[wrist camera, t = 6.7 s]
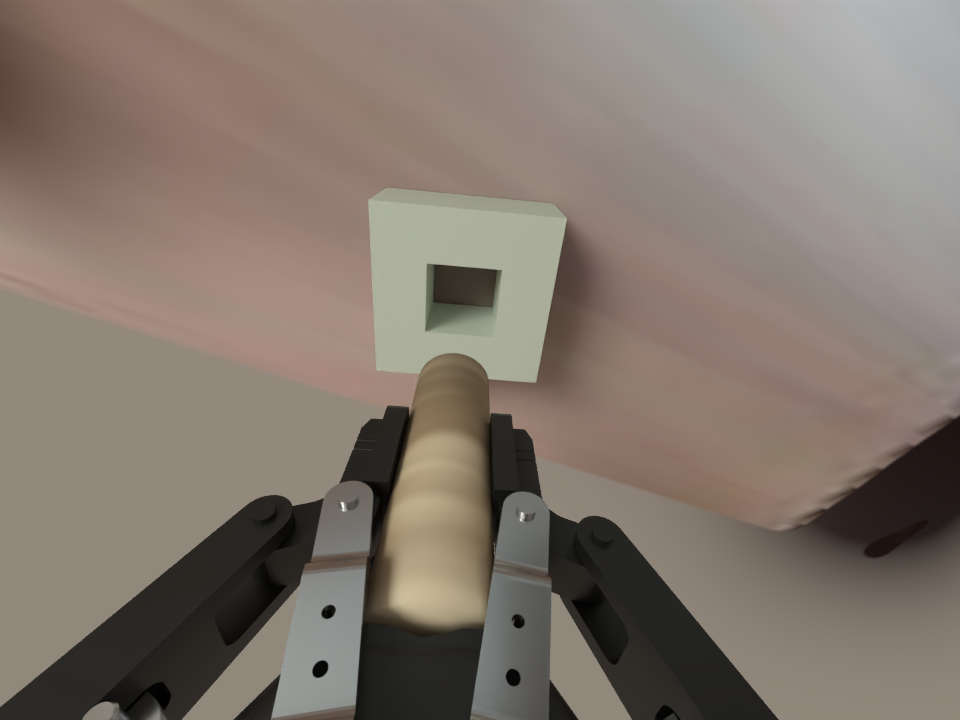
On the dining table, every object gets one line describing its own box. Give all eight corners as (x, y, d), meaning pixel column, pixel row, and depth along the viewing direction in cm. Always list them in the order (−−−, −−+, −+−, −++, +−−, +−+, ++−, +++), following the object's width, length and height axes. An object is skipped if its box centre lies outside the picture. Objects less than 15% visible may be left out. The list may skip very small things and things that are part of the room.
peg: (419, 350, 16) (350, 597, 8) (492, 356, 17) (504, 605, 8) (418, 409, 18) (359, 671, 9) (485, 413, 18) (488, 677, 9)
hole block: (386, 187, 26) (368, 199, 22) (553, 203, 27) (566, 218, 23) (390, 337, 32) (376, 370, 28) (528, 348, 32) (535, 382, 28)
